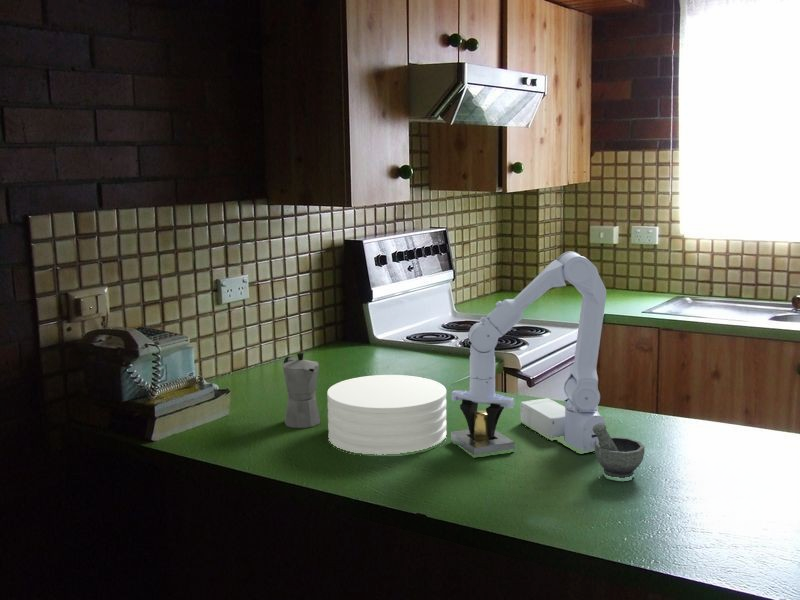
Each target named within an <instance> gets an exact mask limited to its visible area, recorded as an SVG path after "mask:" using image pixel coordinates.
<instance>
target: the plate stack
mask: <svg viewBox="0 0 800 600" xmlns="http://www.w3.org/2000/svg"><path fill="white" fill-rule="evenodd" d="M326 392H327V393H326V394H327V395H326V397H327V398H326V399H327V402H326V403H327V410H328V411H327V421H328V423H327V426H328V427H327V430H328V438H329V439H328V442H329V441H330V442H331V444H333V445H334V446H336V447H337V448H340V449H343V450H346V451H350V452H354V453H362V454H375V455H376V454H377V455H382V454H384V455H386V454H400V453H407V452H414V451H419V450H423V449H427V448H429V447H432V446H435V445H437V444H439V443H441V442H442V441H443V440H444V439H445V438H446V439H447V437H446V435H447V388H446V387H445V385H443V384H442V383H440V382H439V381H436V380H434V379H430V378H425V377H420V376H414V375H406V374H404V375H403V374H377V375H367V376H366V375H365V376H359V377H353V378H349V379H345V380H342V381H339V382H336V383H335V384H333V385H331V386H330V387H329V388H328V390H327V391H326ZM330 442H329V443H330ZM331 444H330V445H331ZM334 446H333V447H334ZM337 448H336V449H337Z"/></svg>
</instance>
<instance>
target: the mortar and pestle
mask: <svg viewBox="0 0 800 600" xmlns="http://www.w3.org/2000/svg"><path fill="white" fill-rule="evenodd" d="M592 430H593V432H594V433H595V434H596V435H597V438H598V441H597V442H595V452H594V453H595V458H596V460H597V461H598V463H599V464H600V466H601V468H602V469H603V471H604V473H605V474H606V475H608V476H611V477H619V478H625V477H630V476H632V475H633V474H634V475H635V472H634V471H635V470H636V469H637V468H638V467H640V465H641V463H642V461H643V460H644V456H645V445H644V444H643V443H641V441H639V440H636V439H632V438H630V437H619V436H611V435H610V433H609V432H608V431H607V425H606V426H605V424H604V423H598V424H596V425H595V426H594V427H593V429H592Z"/></svg>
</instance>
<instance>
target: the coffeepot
mask: <svg viewBox="0 0 800 600" xmlns="http://www.w3.org/2000/svg"><path fill="white" fill-rule="evenodd" d="M296 355H297V359H296V358H295V357H291V356H286V357H285V358H284V360H283V363H282V368H283V374H284V381H285V384H286V385H285V387H286V391H287V393H288V394H287V395H288V397H287V401H286V409H285V416H284V417H285V418H284V424H285V426H286V427H288V428H293V429H309V428H313V427H317V426H318V425H319V424H320V423H321V419H320V414H319V407H318V403H317V399H316V398H317V397H316V391H317V385H318V378H319V369H320V364H319V362H318V361H315V360H308V359H304V352H298V353H297V354H296Z"/></svg>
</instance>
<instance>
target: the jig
mask: <svg viewBox="0 0 800 600" xmlns="http://www.w3.org/2000/svg"><path fill="white" fill-rule="evenodd" d="M473 438H474V433H473V434H470V432H469V428H468V429H467V428H466V429H461V430H454V431H450V441H451V440H452V441H454V442H455V443H456V444H458V445H460V446H461V447H463V448H464V449H465V450H467V451H468V452H470V453H472V454H473V455H478V454H485V453H491V452H497V451H502V450H509V449H514V450H515V441H514V440H513V439H511V438H509V437H507V436H506V435H504V434H502V432H500V431H499V430H496V429H495V434H494V435H493V436H492V437H491V440H487V441H480V442H476V441H474V440H473Z"/></svg>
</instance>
